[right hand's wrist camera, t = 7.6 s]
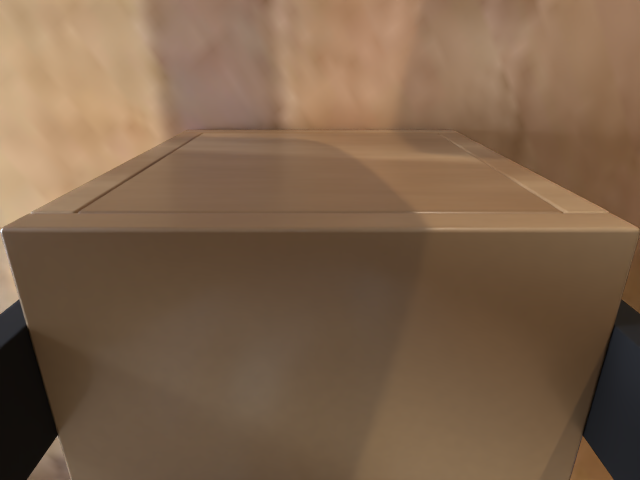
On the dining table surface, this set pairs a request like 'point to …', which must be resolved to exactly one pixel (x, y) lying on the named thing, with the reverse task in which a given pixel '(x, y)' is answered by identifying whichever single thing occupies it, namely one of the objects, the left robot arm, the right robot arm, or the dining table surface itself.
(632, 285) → the dining table surface
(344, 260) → the cabinet
